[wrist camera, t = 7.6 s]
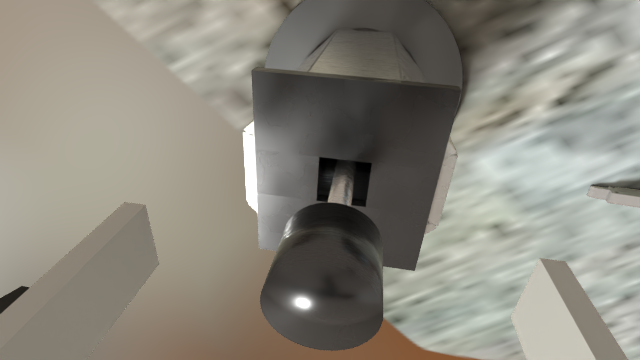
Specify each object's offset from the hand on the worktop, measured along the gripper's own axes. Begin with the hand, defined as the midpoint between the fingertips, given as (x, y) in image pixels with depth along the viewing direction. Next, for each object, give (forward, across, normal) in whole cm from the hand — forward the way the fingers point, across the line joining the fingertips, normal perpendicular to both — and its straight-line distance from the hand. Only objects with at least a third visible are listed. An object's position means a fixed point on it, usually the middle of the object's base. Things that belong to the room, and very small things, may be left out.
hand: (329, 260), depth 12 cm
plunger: (+16, 0, 0) cm, 16 cm away
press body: (+20, 0, -2) cm, 20 cm away
